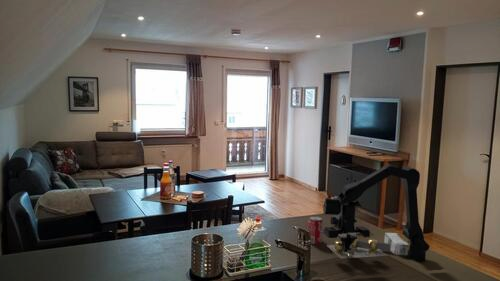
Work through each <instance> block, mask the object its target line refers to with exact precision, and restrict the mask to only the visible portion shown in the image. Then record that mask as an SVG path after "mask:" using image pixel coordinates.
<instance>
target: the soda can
mask: <svg viewBox="0 0 500 281" xmlns="http://www.w3.org/2000/svg"><path fill="white" fill-rule="evenodd" d="M306 227H307V228H306V229H307V230H306V232H307V231H309V232H310V233H311V243H310V244H313V245H320V244H322V243H323V235H324V221H323V217H321V216H317V215H316V216H315V215H312V216H309V217H308V220H307V226H306Z"/></svg>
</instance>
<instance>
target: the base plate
mask: <svg viewBox="0 0 500 281" xmlns="http://www.w3.org/2000/svg"><path fill="white" fill-rule="evenodd" d="M326 247H327V248H329V250H331V251H332V252H333V253H334V254H335V255H336V256H337V257H338V258H339V259H353V258H357V259H358V258H371V257H388V255H389V254H387V253H385V251H384V250H381V249H377V250H370V249H364V248H359V247H357V248H355V251H354V255H351V254H348V253H345V252H337V251H335V250H334V247H335V244H330V245H329V244H326Z"/></svg>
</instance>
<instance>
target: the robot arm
mask: <svg viewBox="0 0 500 281" xmlns="http://www.w3.org/2000/svg"><path fill="white" fill-rule="evenodd" d="M391 176H394V177H398V178H400V181H401V183H402V186H403V188H404V196H405V197H404V199H405V200H404V201H405V211H406V213H405V214H406V222H405V224H401V228H402V235H403V236H404V238H405V239H406V240H407V242H408V243H407V244H409V246H408V257H409V259H410V260H412V261H415V262H417V263H425V262H426V256H427V255H426V254H427V251H429V250H430V244H429V243H428V242H426V241H425V236H424V232H423V229H422V227H421V224H420V218H419V206H418V188H419V184H420V181H421V173H420V171H419V170H417V169H416V168H413V167H411V166H407V165H406V166H403V167H401V166H397V165H392V164H390V163H386V164H385V165H383V166H382V167H381V168H379V169H377V170H375V171H374V172H373V173H370V174H369V175H367V176H365V177H364V178H362V179H361V180H358V181H353V182H350V183H349V184H345V185H344V186H343V187H342V189H341V192H340V193H339V194H338V196H336V197H337V199H334V198H331V197H330V198H329V197H325V199H324V201H323V204H322V211H323V212H322V213H323V215H329V216H330V215H331V217H330V224H331V225H332V226H325V227H324V228H323V235H325V237H327V238H329V239H336V238H339V239H340V241H341V242H342V246H343V249H344V252H347V251H348V249H349V247H350V246H351V244H352V243H353V242H354V241H355V239H358V237H357V235H361V236H362V237H363V238H370V236H371V231H370V229H368V228H367V227H365V226H363V225H362V226H361V225H360V226H356V223H357V221H358V220H357V219H356V214H357V207H358V208H359V207H362V206H363V205H362V204H361V203H360V202H359V200H358V199H359V198H361V197H362V196H363V194H364V193H365V192H366V191H367V190H369V189H370V188H372V187H374V186H375V185H377V184H379V183H380V182H382V181H384V180H385V179H387V178H389V177H391ZM341 205H342V212H341ZM340 213H341V216H340V217H339V219H337V218H336V217H333V215H338V214H340ZM333 225H334V226H333ZM337 227H338V228H337ZM336 228H337V229H336ZM339 228H340V229H339Z"/></svg>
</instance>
